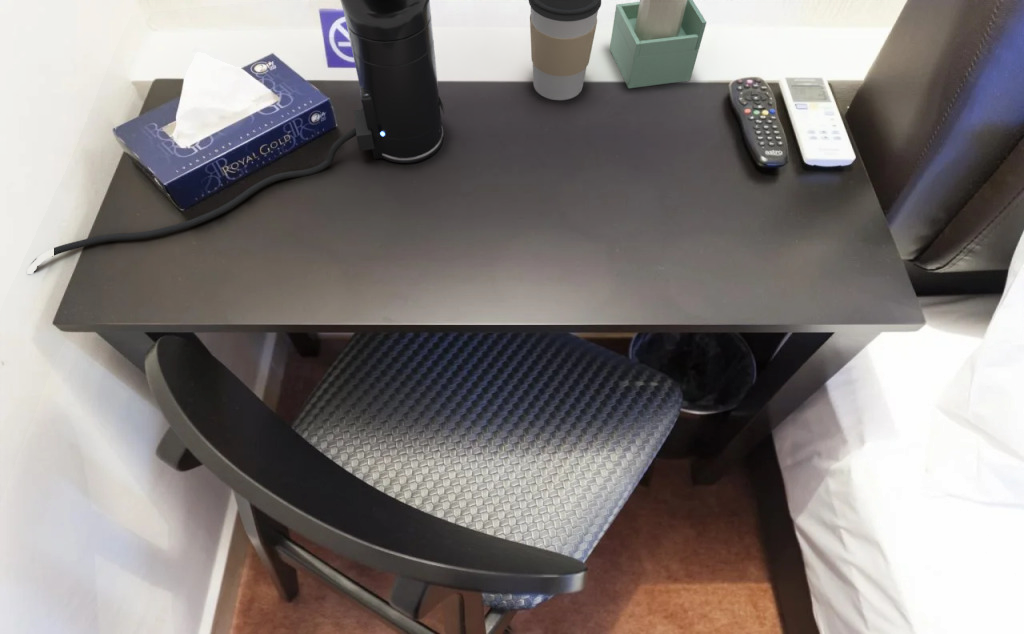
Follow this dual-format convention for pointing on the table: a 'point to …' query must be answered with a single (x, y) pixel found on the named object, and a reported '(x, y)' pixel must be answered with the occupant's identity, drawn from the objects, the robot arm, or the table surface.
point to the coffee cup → (561, 45)
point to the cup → (659, 19)
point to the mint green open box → (655, 48)
